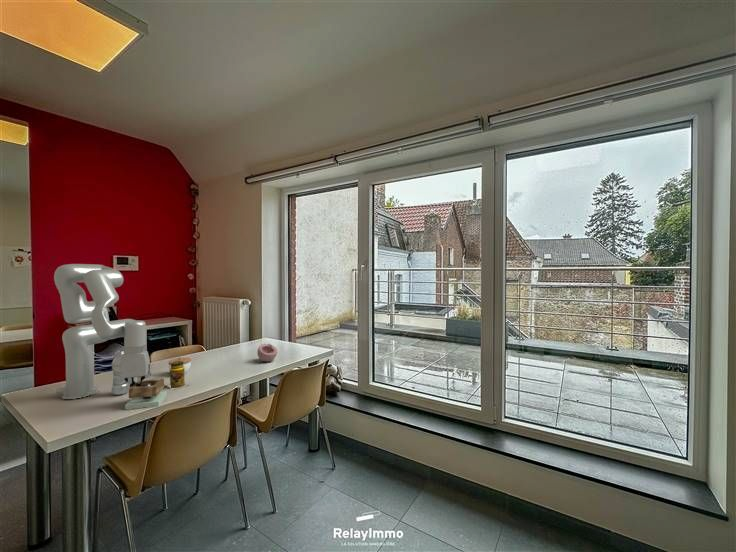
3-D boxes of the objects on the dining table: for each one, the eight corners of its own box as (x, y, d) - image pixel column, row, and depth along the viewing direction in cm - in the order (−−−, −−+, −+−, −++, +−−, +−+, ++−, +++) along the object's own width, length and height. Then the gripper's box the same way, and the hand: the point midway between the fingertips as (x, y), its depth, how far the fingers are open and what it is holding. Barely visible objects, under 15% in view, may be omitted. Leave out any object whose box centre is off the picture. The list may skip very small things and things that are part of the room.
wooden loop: (128, 398, 131) (128, 388, 131) (138, 389, 141) (138, 380, 141) (156, 395, 134) (156, 386, 134) (163, 387, 144) (164, 378, 144)
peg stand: (125, 409, 130) (124, 390, 130) (136, 398, 141) (136, 380, 141) (158, 406, 134) (158, 387, 133) (167, 395, 145) (167, 378, 145)
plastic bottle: (127, 389, 151) (126, 348, 150) (131, 393, 147) (130, 350, 146) (109, 394, 146) (109, 351, 145) (113, 397, 142) (113, 353, 141)
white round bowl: (164, 375, 172) (164, 358, 172) (183, 369, 181) (183, 353, 181) (176, 378, 167) (176, 361, 167) (195, 372, 176) (195, 356, 176)
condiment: (174, 390, 152) (173, 365, 151) (164, 386, 156) (164, 362, 155) (189, 385, 158) (188, 361, 158) (179, 382, 162) (179, 359, 162)
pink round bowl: (266, 365, 191) (266, 346, 191) (253, 362, 197) (253, 343, 197) (281, 360, 201) (281, 342, 201) (268, 357, 208) (268, 340, 207)
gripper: (109, 353, 130) (110, 397, 130) (153, 350, 134) (153, 393, 135) (117, 348, 137) (118, 390, 137) (158, 346, 142) (159, 386, 142)
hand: (135, 391), depth 136 cm, fingers closed on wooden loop, 1 cm apart
